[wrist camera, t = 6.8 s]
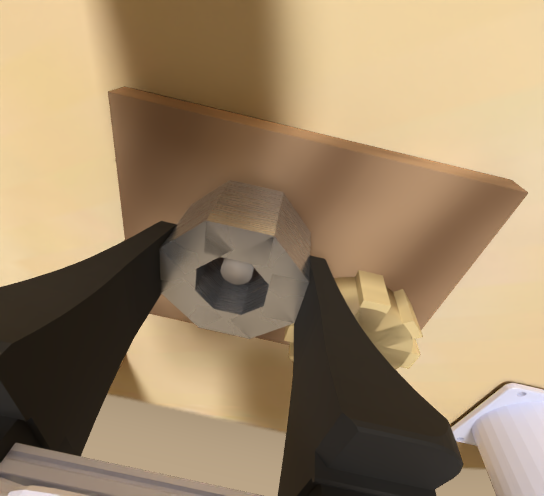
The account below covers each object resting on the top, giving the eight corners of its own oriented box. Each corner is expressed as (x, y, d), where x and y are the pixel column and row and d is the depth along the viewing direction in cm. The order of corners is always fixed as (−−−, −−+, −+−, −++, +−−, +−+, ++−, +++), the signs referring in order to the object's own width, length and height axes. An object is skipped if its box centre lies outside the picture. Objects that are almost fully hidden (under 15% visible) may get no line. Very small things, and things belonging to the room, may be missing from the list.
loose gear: (320, 200, 12) (322, 246, 9) (291, 293, 15) (285, 346, 12) (192, 171, 12) (157, 209, 9) (188, 269, 15) (161, 319, 12)
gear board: (511, 179, 12) (585, 236, 9) (387, 351, 19) (402, 418, 16) (124, 86, 12) (49, 108, 9) (142, 295, 19) (105, 353, 16)
